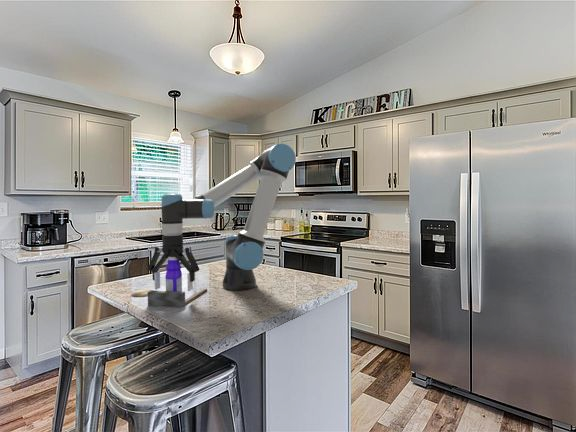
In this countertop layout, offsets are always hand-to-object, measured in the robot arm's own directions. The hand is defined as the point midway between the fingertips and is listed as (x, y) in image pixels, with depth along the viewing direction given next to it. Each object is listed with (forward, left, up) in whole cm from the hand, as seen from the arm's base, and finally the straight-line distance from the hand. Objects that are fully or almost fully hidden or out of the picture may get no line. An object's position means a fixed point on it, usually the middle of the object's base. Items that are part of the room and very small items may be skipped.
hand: (173, 289), depth 128 cm
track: (0, -5, -4) cm, 6 cm away
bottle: (0, 0, -5) cm, 5 cm away
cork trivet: (+18, -8, -4) cm, 20 cm away
